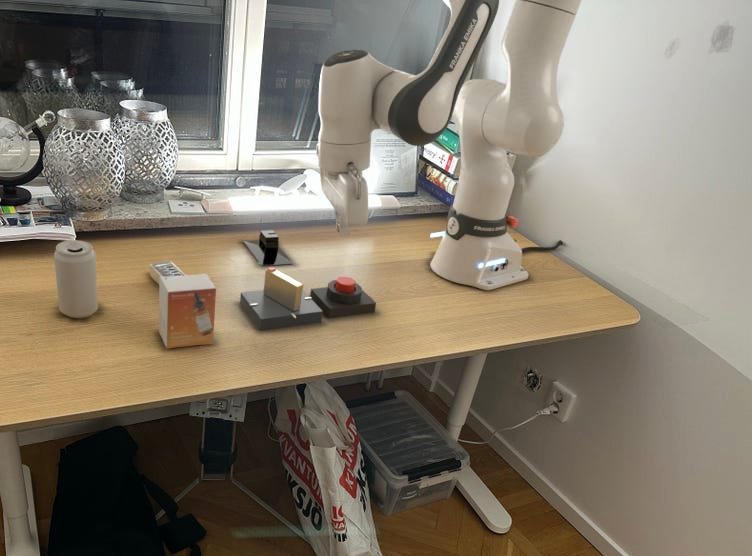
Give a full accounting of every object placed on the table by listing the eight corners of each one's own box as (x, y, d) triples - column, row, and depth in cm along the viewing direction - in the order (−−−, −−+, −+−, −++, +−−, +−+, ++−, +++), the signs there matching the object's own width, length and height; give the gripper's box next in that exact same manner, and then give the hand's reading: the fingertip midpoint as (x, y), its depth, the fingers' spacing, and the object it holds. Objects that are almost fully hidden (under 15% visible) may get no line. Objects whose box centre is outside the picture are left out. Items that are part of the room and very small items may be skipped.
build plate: (293, 265, 139) (295, 245, 136) (260, 267, 136) (262, 247, 134) (272, 241, 148) (274, 221, 146) (242, 242, 145) (243, 222, 143)
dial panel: (296, 294, 128) (297, 282, 126) (324, 326, 119) (326, 313, 117) (237, 301, 123) (238, 288, 121) (262, 334, 114) (263, 321, 112)
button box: (354, 293, 131) (357, 275, 129) (374, 313, 125) (378, 294, 123) (309, 298, 127) (312, 280, 125) (328, 319, 121) (331, 300, 119)
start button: (348, 283, 126) (349, 275, 125) (357, 292, 124) (359, 284, 123) (331, 285, 125) (333, 277, 124) (340, 294, 122) (342, 285, 121)
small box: (166, 349, 106) (166, 292, 100) (158, 332, 110) (158, 275, 105) (214, 344, 109) (217, 287, 104) (204, 327, 113) (207, 272, 108)
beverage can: (63, 322, 109) (57, 256, 103) (56, 304, 114) (50, 240, 107) (102, 317, 112) (98, 253, 106) (93, 300, 117) (90, 237, 110)
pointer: (300, 309, 118) (303, 283, 115) (293, 311, 117) (297, 285, 114) (269, 291, 122) (272, 266, 119) (263, 293, 121) (265, 268, 118)
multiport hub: (174, 300, 120) (174, 288, 119) (149, 274, 127) (149, 264, 126) (195, 295, 123) (196, 284, 121) (170, 271, 130) (170, 260, 128)
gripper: (379, 171, 104) (375, 253, 111) (347, 141, 121) (346, 213, 128) (340, 173, 103) (339, 256, 110) (314, 142, 120) (314, 216, 127)
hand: (342, 233), depth 119 cm, fingers closed
